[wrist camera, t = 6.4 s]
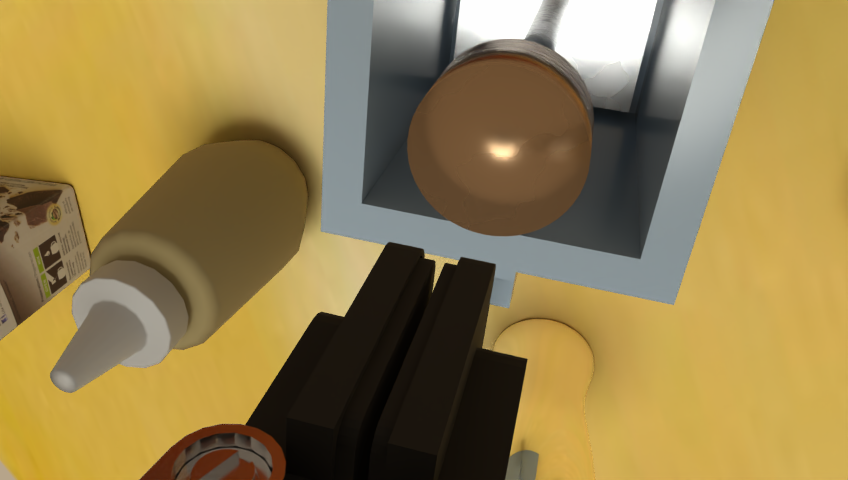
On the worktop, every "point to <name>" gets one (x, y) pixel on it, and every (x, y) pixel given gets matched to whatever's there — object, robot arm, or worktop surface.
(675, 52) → the gray square open container
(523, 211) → the plunger
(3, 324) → the coffee box
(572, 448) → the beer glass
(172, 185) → the squeeze bottle
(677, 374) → the worktop surface
